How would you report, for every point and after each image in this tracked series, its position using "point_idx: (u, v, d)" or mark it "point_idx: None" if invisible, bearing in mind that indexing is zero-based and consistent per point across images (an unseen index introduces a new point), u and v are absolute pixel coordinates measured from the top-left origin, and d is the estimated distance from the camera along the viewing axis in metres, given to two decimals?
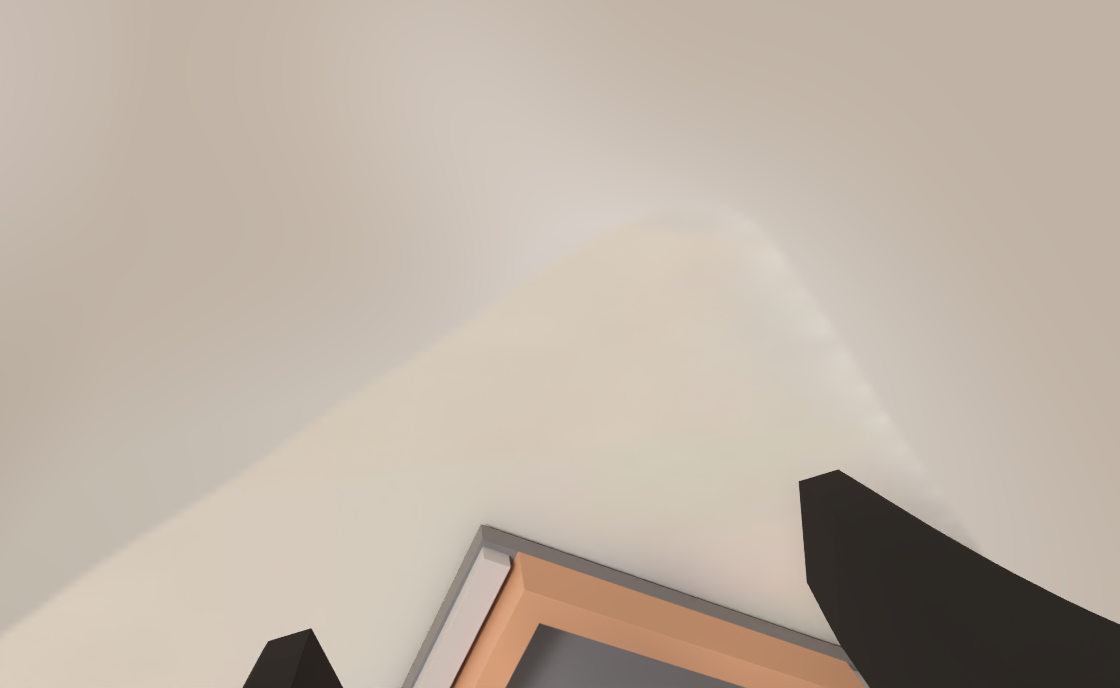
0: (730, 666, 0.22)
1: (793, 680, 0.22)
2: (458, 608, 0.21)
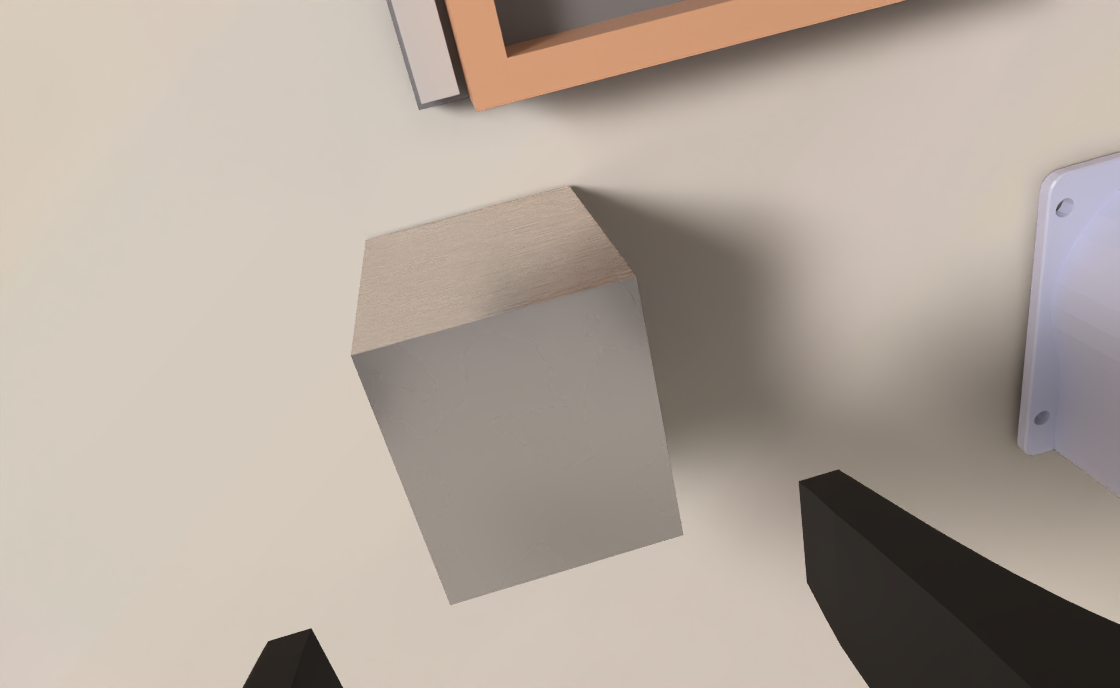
0: None
1: None
2: None
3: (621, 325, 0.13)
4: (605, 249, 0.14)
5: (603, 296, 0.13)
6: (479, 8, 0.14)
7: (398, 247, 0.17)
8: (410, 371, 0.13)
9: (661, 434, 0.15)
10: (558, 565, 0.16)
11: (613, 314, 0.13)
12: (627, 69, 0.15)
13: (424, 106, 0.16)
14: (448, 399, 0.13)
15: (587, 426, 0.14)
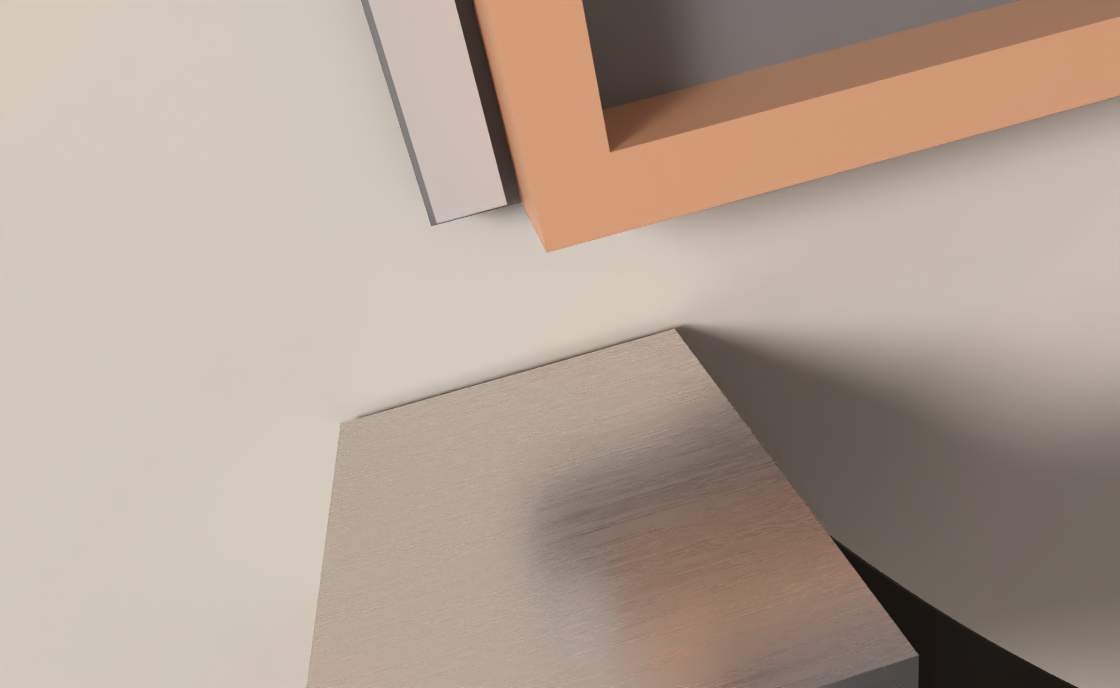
0: None
1: None
2: None
3: None
4: (803, 532, 0.07)
5: None
6: (560, 57, 0.07)
7: (395, 455, 0.10)
8: None
9: None
10: None
11: None
12: (833, 168, 0.08)
13: None
14: None
15: None
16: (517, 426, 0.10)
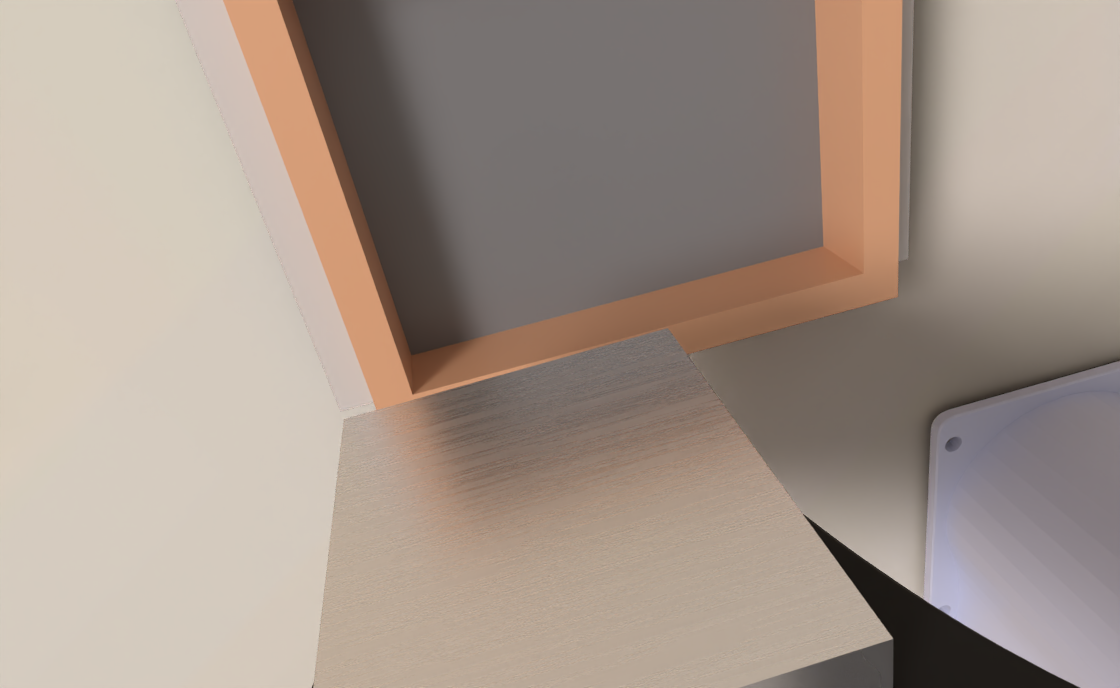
0: None
1: None
2: (201, 64, 0.14)
3: None
4: (788, 524, 0.08)
5: (820, 678, 0.06)
6: (385, 360, 0.15)
7: (398, 450, 0.10)
8: None
9: None
10: None
11: None
12: None
13: None
14: None
15: None
16: (515, 422, 0.10)
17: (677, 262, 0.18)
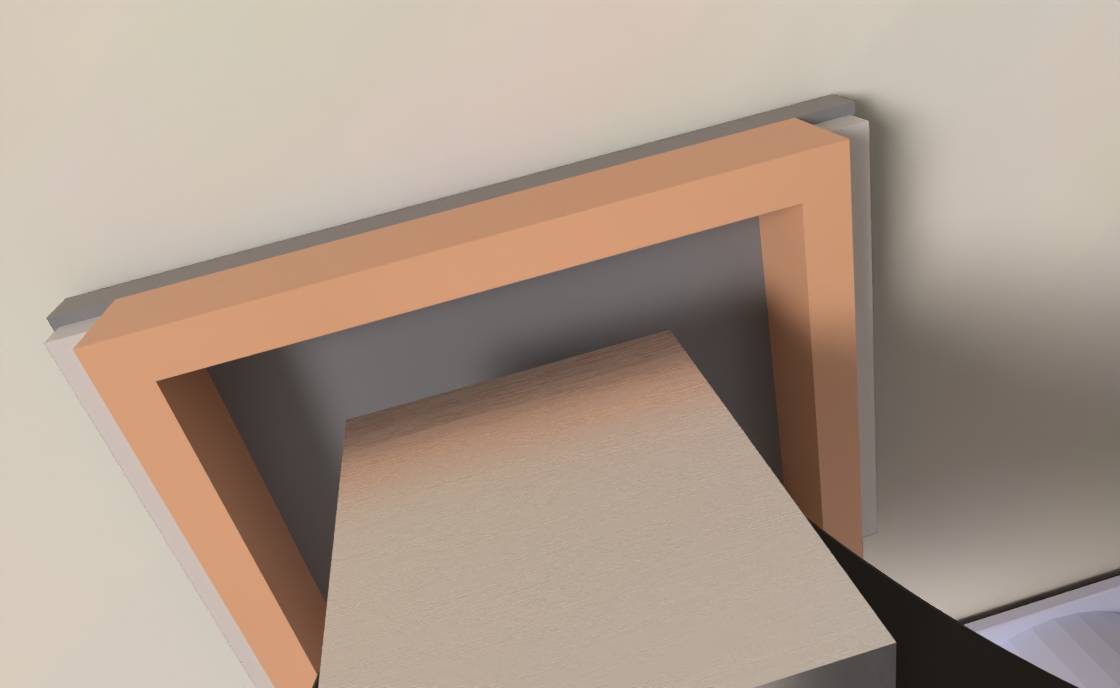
0: (529, 246, 0.11)
1: (663, 198, 0.11)
2: (99, 431, 0.13)
3: None
4: (790, 527, 0.08)
5: (823, 681, 0.06)
6: None
7: (400, 451, 0.10)
8: None
9: None
10: None
11: None
12: None
13: None
14: None
15: None
16: (518, 423, 0.10)
17: None
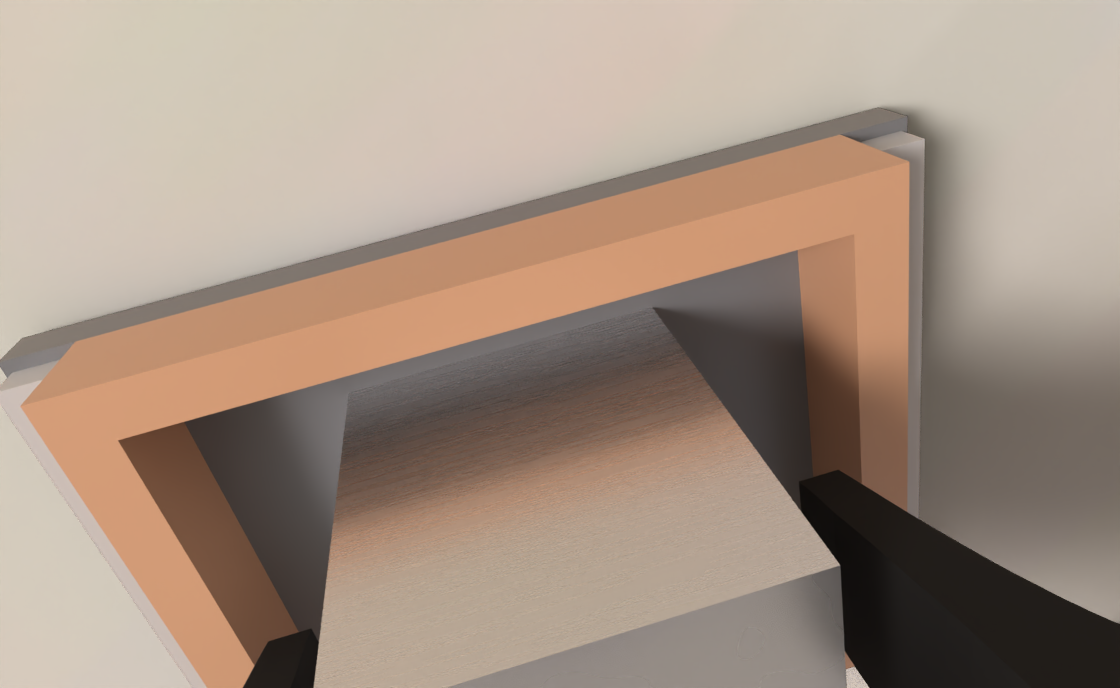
0: (545, 284, 0.10)
1: (698, 229, 0.10)
2: (59, 488, 0.11)
3: (803, 639, 0.07)
4: (752, 473, 0.08)
5: (776, 601, 0.07)
6: None
7: (399, 418, 0.11)
8: None
9: None
10: None
11: (791, 625, 0.07)
12: None
13: None
14: None
15: None
16: (508, 392, 0.11)
17: None
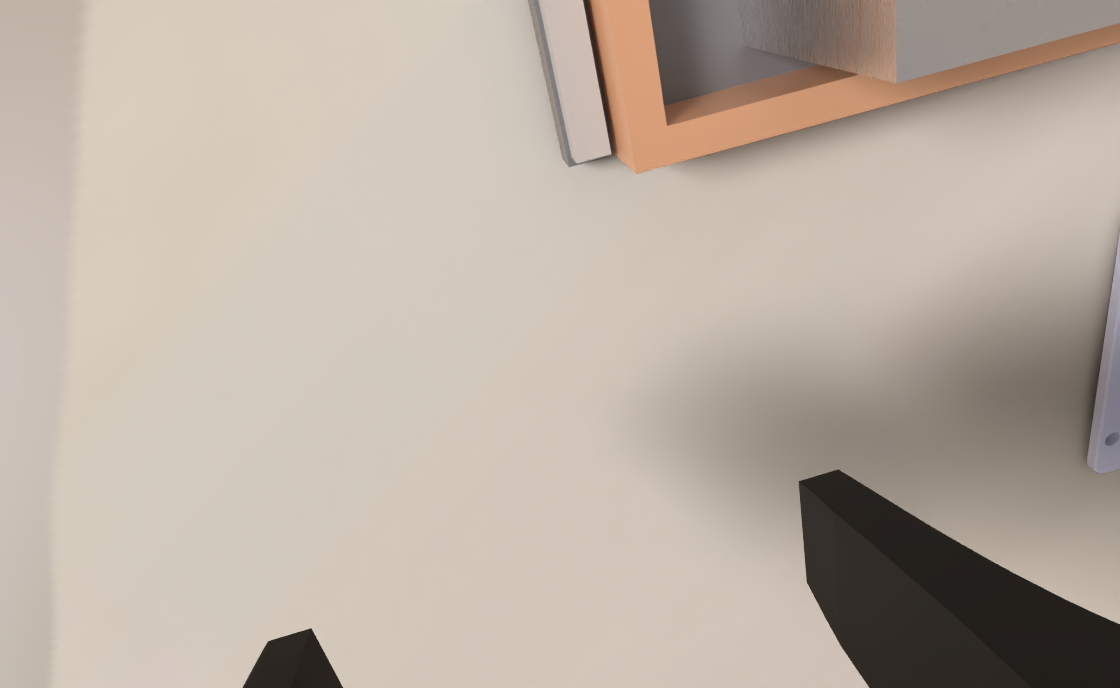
0: None
1: None
2: None
3: None
4: None
5: None
6: (646, 83, 0.15)
7: None
8: None
9: None
10: (1035, 34, 0.12)
11: None
12: (771, 134, 0.16)
13: (574, 163, 0.18)
14: None
15: None
16: None
17: None
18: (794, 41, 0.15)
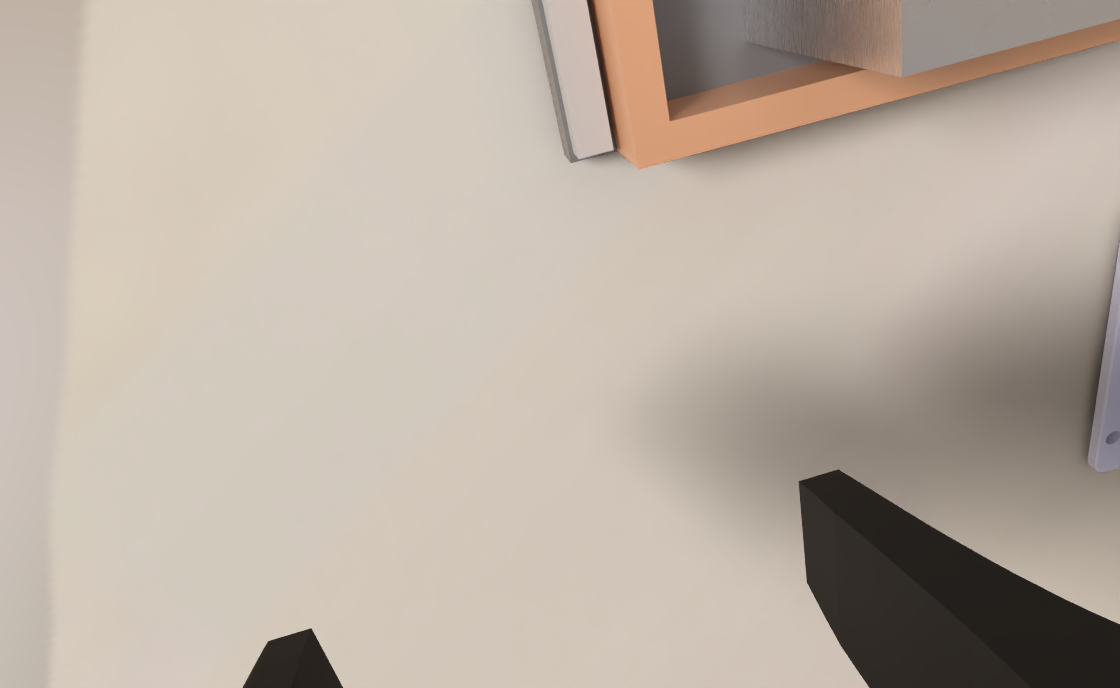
0: None
1: None
2: None
3: None
4: None
5: None
6: (649, 78, 0.15)
7: None
8: None
9: None
10: (1041, 29, 0.12)
11: None
12: (774, 130, 0.16)
13: (576, 159, 0.17)
14: None
15: None
16: None
17: None
18: (798, 36, 0.15)
